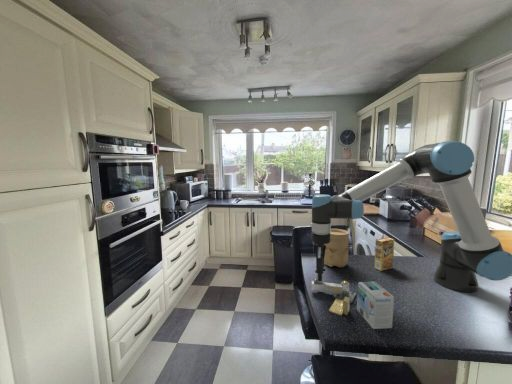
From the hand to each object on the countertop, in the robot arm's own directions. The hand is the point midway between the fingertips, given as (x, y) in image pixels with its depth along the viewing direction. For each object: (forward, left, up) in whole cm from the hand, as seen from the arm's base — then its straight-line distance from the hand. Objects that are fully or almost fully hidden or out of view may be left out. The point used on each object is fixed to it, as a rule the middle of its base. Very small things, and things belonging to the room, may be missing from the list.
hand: (319, 286), depth 97 cm
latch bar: (-4, +1, -1) cm, 4 cm away
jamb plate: (-10, -1, -2) cm, 10 cm away
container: (+2, -31, -2) cm, 31 cm away
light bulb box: (-21, +7, -2) cm, 23 cm away
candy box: (-20, -40, -2) cm, 45 cm away
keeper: (-10, +7, -2) cm, 12 cm away
